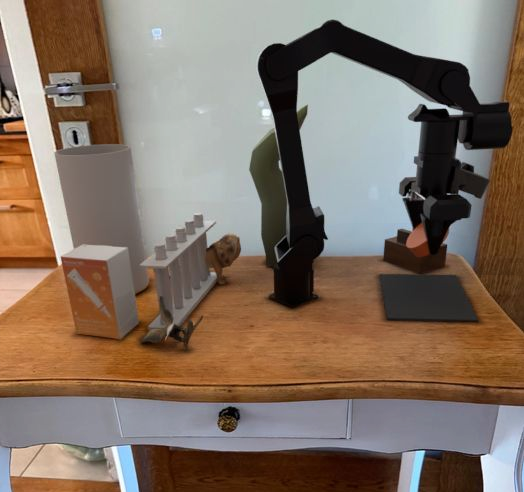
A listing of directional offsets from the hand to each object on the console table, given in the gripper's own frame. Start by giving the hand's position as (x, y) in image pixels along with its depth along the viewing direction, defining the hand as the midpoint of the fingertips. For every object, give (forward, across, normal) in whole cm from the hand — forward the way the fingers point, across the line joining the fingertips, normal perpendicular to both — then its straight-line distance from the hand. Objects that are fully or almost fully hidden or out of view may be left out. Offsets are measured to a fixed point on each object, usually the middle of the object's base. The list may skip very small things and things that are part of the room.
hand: (426, 247), depth 94 cm
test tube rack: (+8, +1, +41) cm, 42 cm away
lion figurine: (+8, +11, +38) cm, 41 cm away
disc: (0, 0, +3) cm, 3 cm away
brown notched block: (+8, +15, -3) cm, 17 cm away
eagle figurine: (+8, -15, +43) cm, 46 cm away
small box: (+8, -9, +54) cm, 55 cm away
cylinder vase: (+8, +9, +56) cm, 57 cm away
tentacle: (+8, +19, +23) cm, 31 cm away
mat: (+8, -2, 0) cm, 8 cm away
